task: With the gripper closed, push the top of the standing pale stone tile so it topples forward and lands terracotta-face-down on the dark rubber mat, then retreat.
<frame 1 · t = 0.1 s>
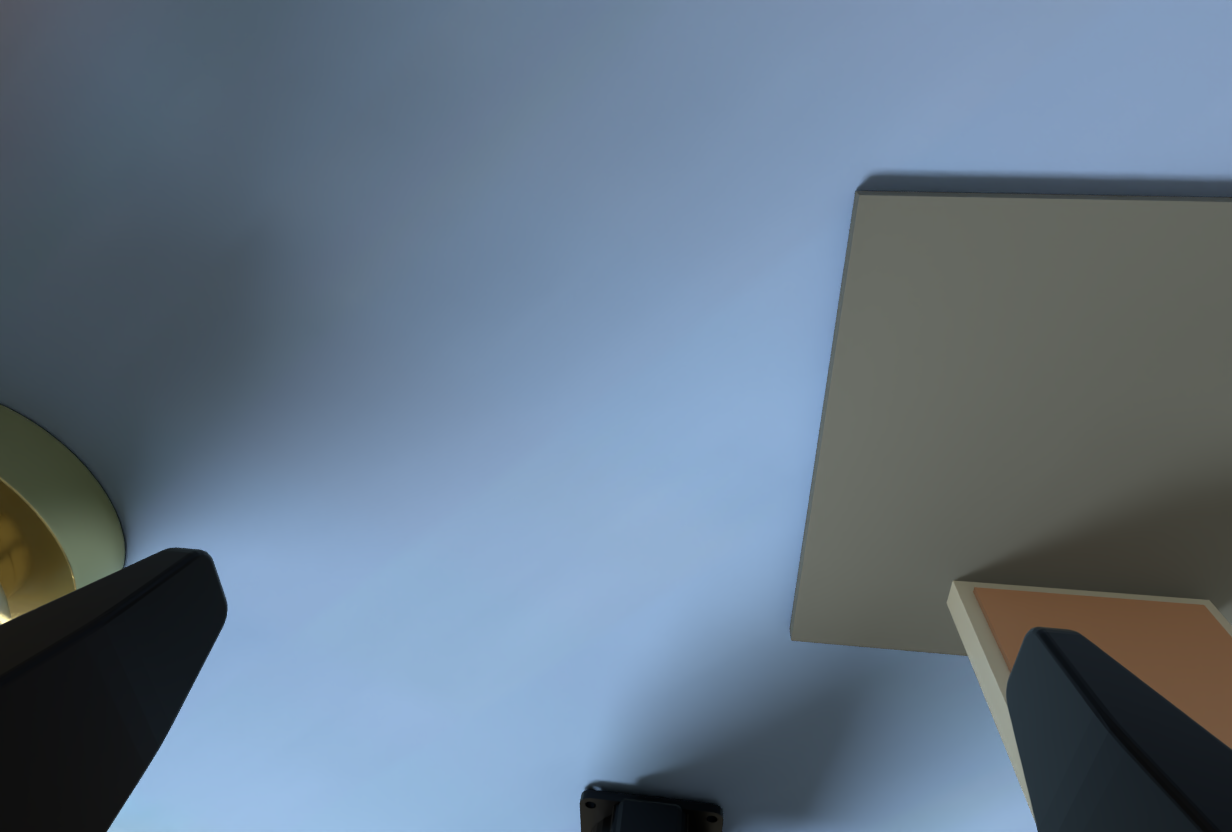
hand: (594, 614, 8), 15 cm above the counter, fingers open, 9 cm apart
lamp: (0, 502, 29), on the counter
tile: (1075, 599, 24), point 1 cm above the counter, touching mat
mat: (1115, 463, 22), on the counter
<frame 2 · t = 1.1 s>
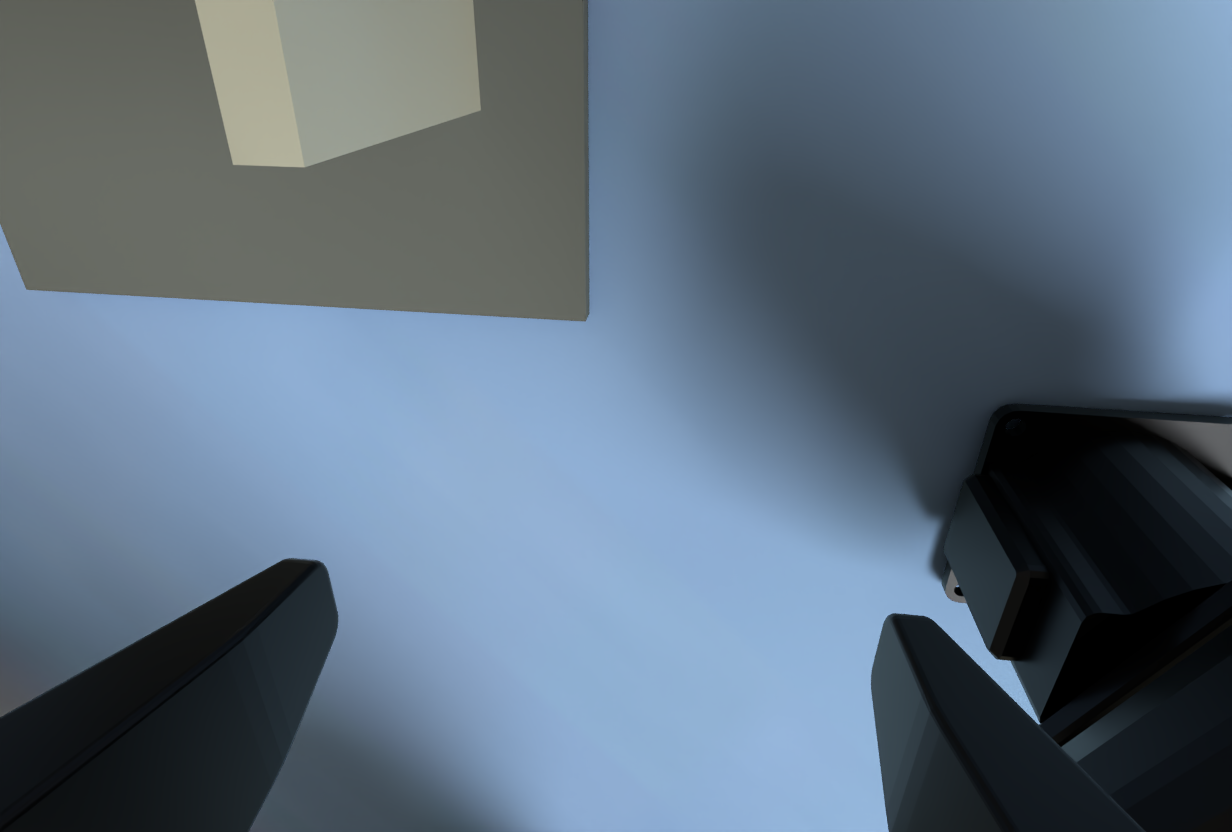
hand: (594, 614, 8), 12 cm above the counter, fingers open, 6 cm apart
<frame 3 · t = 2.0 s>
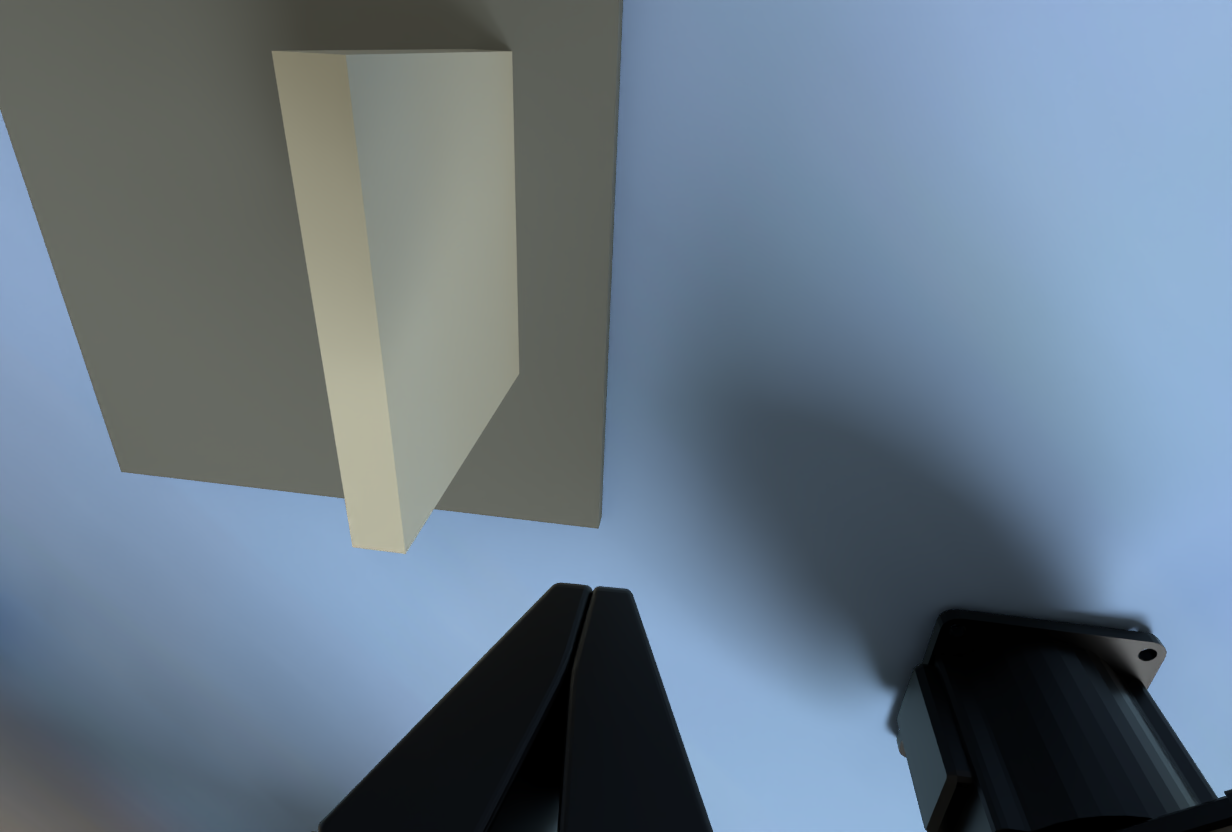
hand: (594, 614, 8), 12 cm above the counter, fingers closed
tile: (493, 227, 18), point 1 cm above the counter, touching mat
mat: (317, 208, 19), on the counter
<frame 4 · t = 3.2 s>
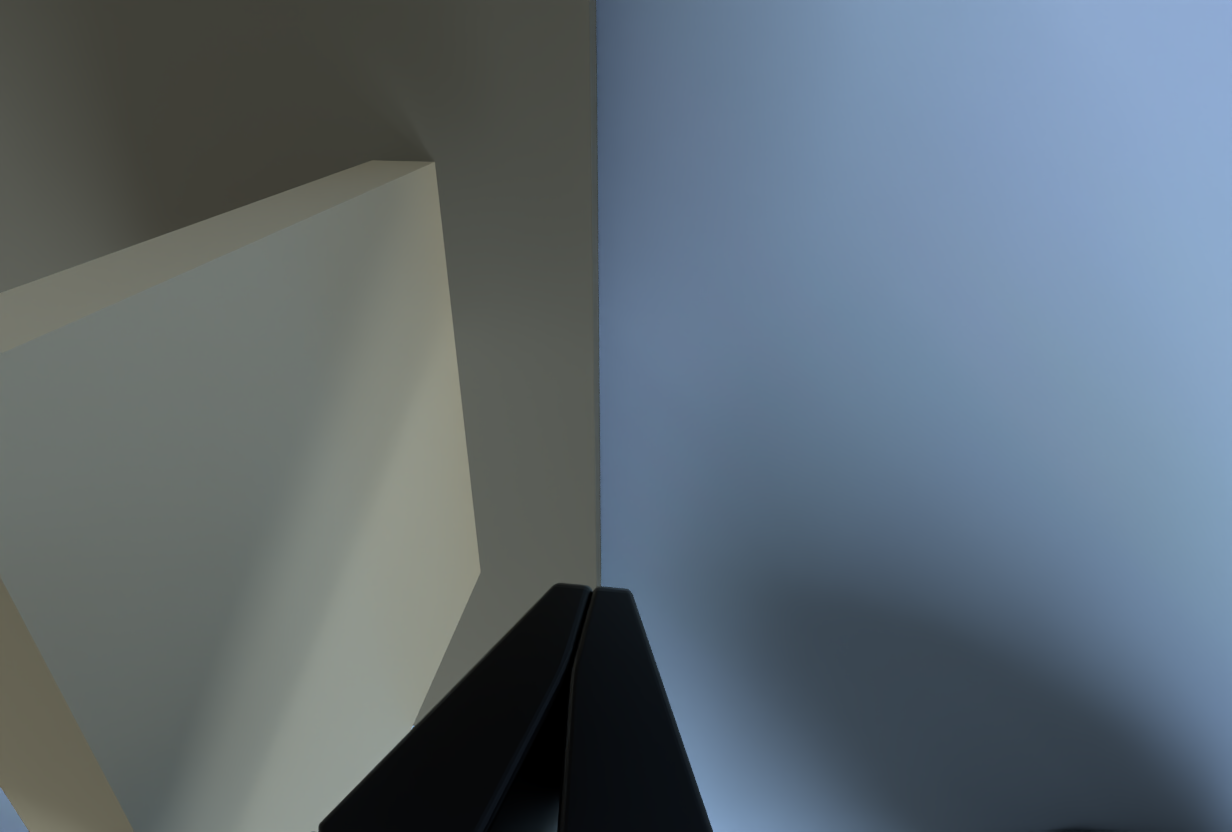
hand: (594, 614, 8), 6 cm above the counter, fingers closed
tile: (428, 395, 13), point 1 cm above the counter, touching mat
mat: (191, 366, 14), on the counter
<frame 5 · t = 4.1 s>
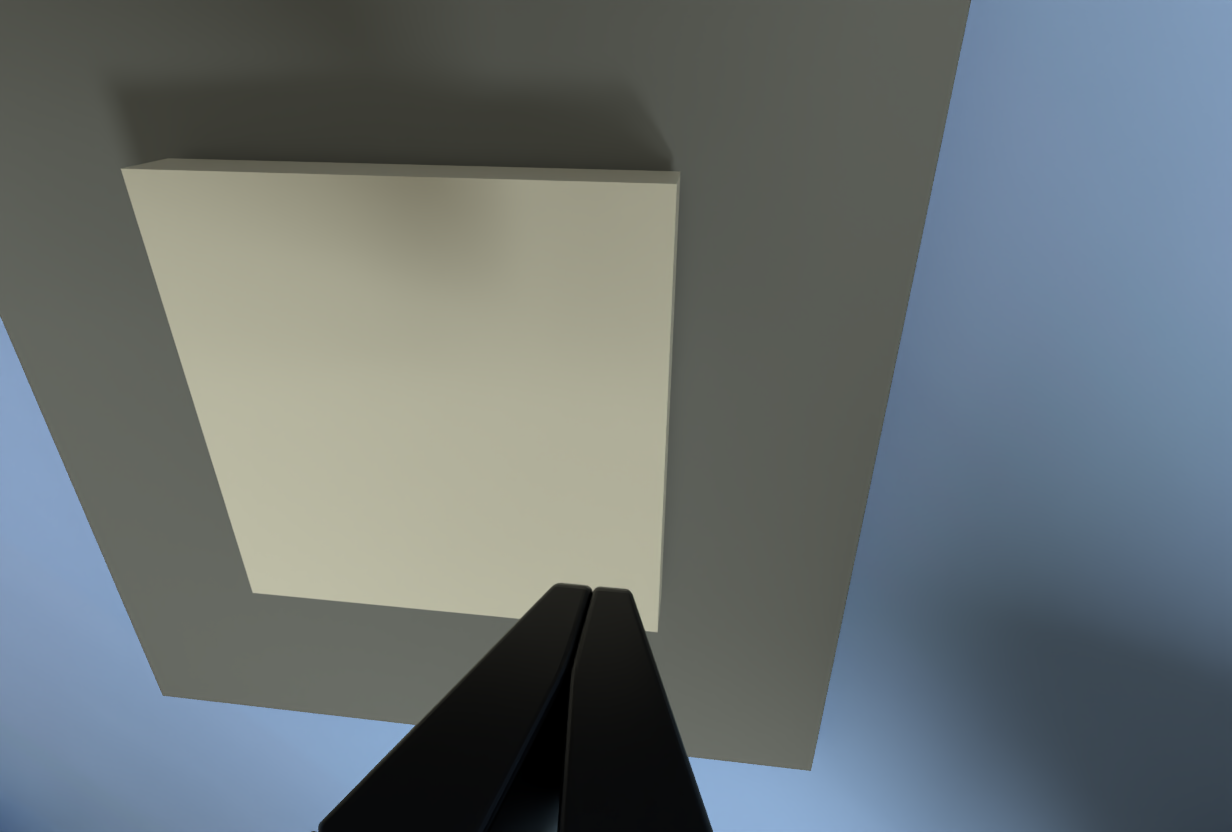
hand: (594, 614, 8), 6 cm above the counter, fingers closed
tile: (667, 427, 12), point 1 cm above the counter, tilted 90°, touching mat
mat: (435, 381, 13), on the counter
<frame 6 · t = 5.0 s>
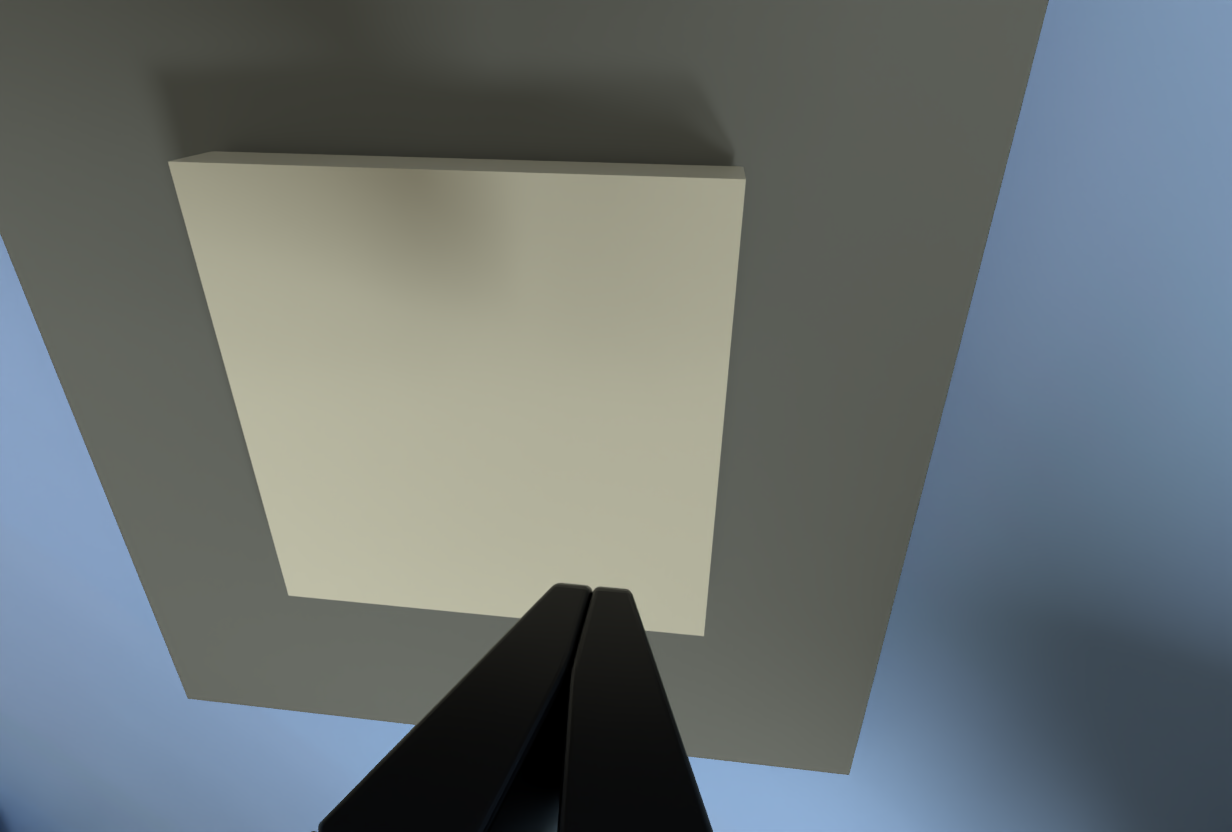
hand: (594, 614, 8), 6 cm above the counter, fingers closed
tile: (721, 428, 12), point 1 cm above the counter, tilted 90°, touching mat
mat: (477, 380, 13), on the counter
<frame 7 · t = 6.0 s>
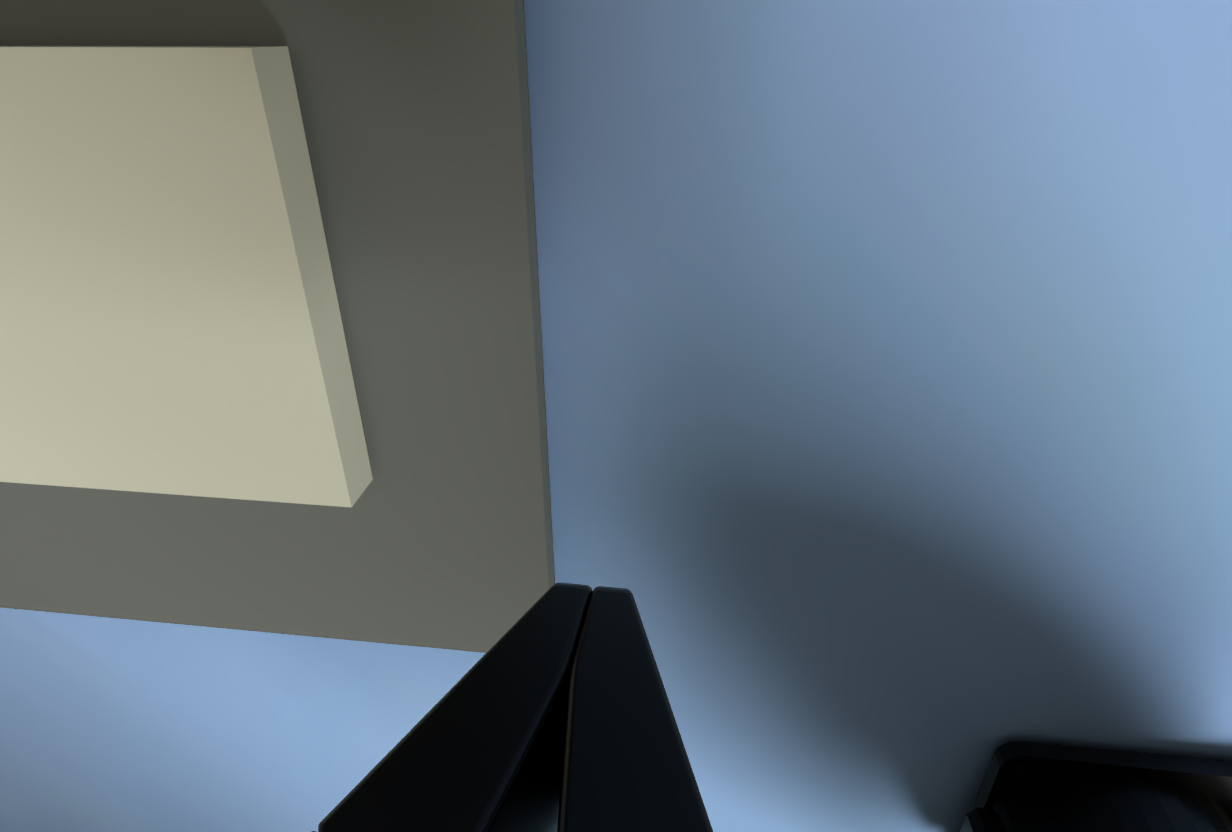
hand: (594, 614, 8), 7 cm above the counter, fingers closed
tile: (326, 302, 12), point 1 cm above the counter, tilted 90°, touching mat
mat: (141, 273, 14), on the counter
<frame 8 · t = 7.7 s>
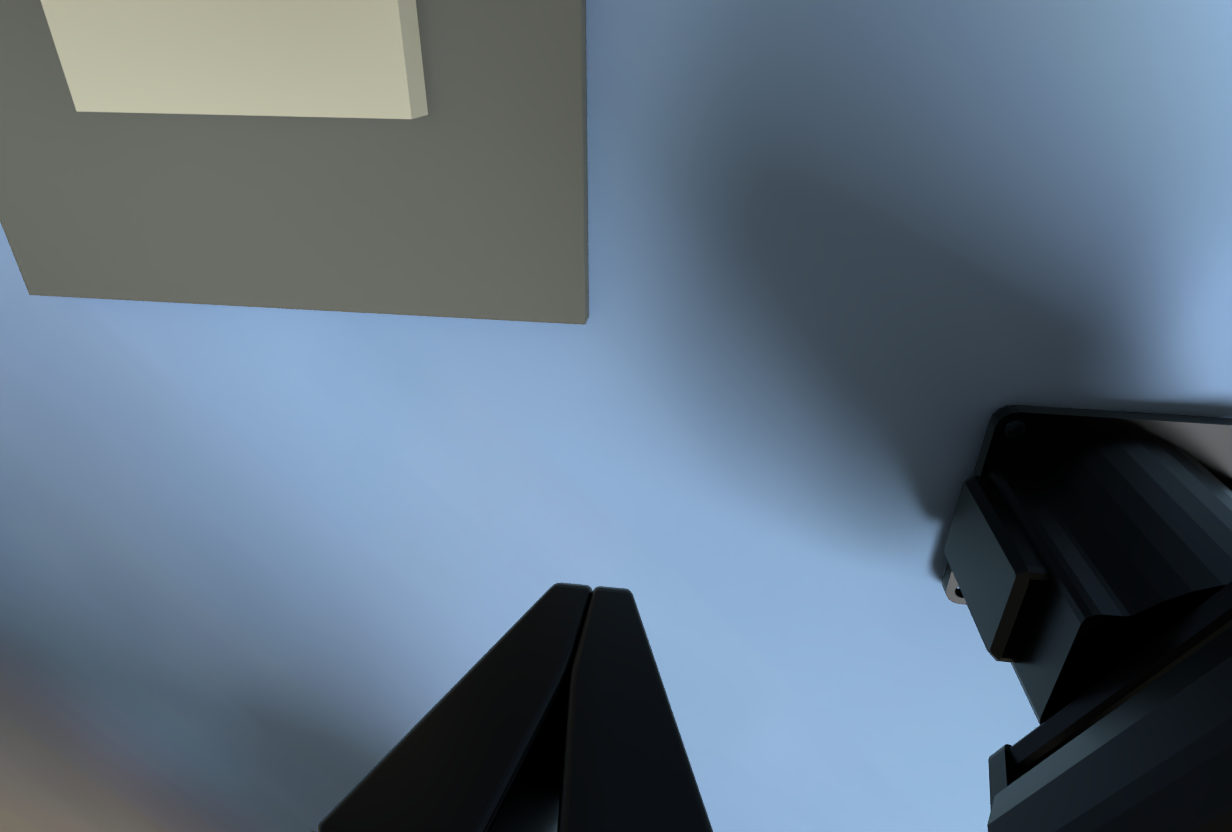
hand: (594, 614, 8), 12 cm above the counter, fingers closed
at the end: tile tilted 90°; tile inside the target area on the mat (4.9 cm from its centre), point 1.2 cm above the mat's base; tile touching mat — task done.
